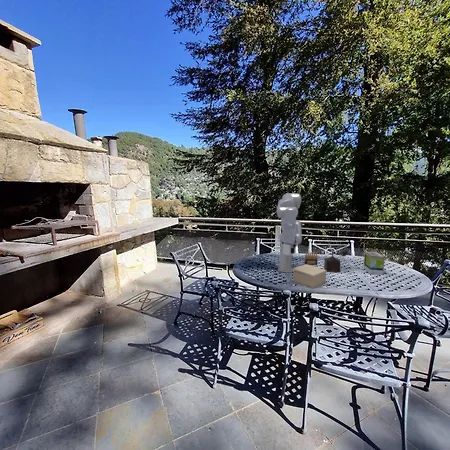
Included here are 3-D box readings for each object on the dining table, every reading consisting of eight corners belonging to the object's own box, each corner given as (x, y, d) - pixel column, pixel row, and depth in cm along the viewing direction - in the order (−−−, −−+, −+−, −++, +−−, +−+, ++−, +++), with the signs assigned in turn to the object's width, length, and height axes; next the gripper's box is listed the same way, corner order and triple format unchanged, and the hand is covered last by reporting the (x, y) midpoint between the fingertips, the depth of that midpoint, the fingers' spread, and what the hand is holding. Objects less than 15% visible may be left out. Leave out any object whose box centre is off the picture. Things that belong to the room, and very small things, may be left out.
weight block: (282, 253, 171) (283, 243, 170) (289, 252, 175) (289, 242, 174) (288, 255, 167) (289, 245, 166) (295, 253, 171) (295, 243, 170)
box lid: (292, 269, 178) (292, 268, 178) (305, 265, 188) (306, 264, 188) (313, 276, 165) (313, 275, 165) (326, 271, 176) (326, 270, 176)
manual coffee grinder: (326, 272, 200) (327, 250, 198) (323, 268, 211) (324, 247, 208) (347, 273, 198) (348, 251, 195) (343, 268, 208) (344, 247, 206)
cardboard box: (293, 281, 179) (293, 271, 178) (305, 276, 189) (306, 266, 188) (313, 288, 167) (313, 276, 166) (325, 282, 177) (326, 271, 176)
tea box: (383, 274, 193) (385, 256, 191) (369, 274, 195) (371, 255, 193) (376, 269, 208) (377, 251, 206) (363, 268, 210) (364, 251, 208)
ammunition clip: (304, 264, 221) (305, 251, 219) (304, 264, 222) (304, 251, 221) (317, 265, 219) (317, 251, 218) (316, 264, 221) (317, 251, 220)
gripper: (276, 225, 173) (275, 251, 175) (297, 228, 159) (296, 256, 162) (283, 224, 177) (282, 249, 180) (304, 227, 164) (303, 254, 167)
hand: (289, 252), depth 171 cm, fingers closed on weight block, 5 cm apart
